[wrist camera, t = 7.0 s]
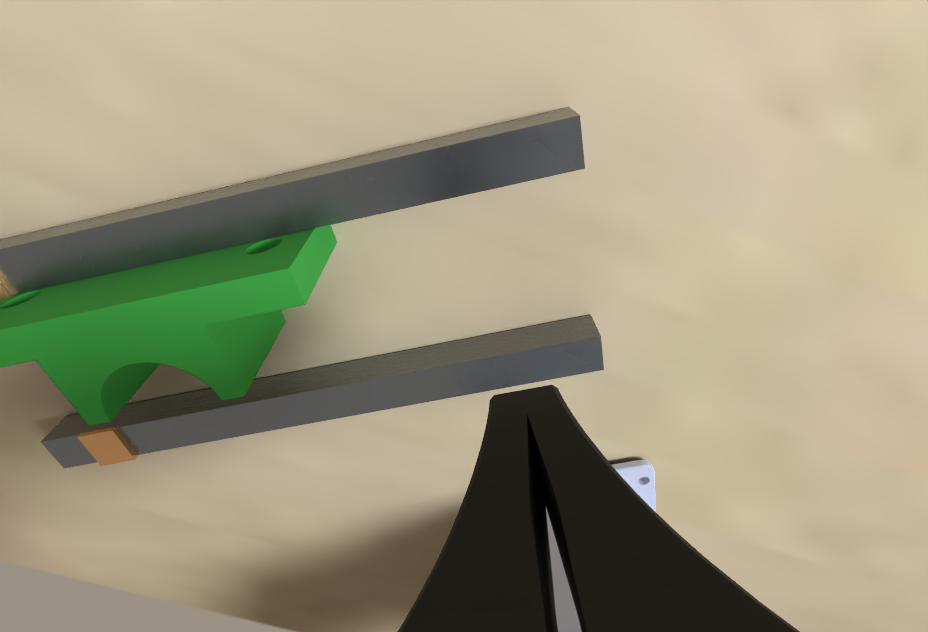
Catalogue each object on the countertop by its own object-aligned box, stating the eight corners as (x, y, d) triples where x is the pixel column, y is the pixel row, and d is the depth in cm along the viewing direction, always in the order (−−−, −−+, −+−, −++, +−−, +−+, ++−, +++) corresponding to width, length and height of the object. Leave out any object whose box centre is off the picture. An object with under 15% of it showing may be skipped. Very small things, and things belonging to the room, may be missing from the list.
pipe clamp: (93, 358, 20) (2, 442, 16) (32, 275, 18) (-88, 348, 14) (362, 304, 19) (337, 381, 15) (327, 210, 17) (287, 269, 13)
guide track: (594, 347, 20) (605, 374, 18) (87, 442, 22) (61, 472, 20) (568, 105, 15) (581, 114, 14) (-69, 253, 17) (-117, 275, 16)
